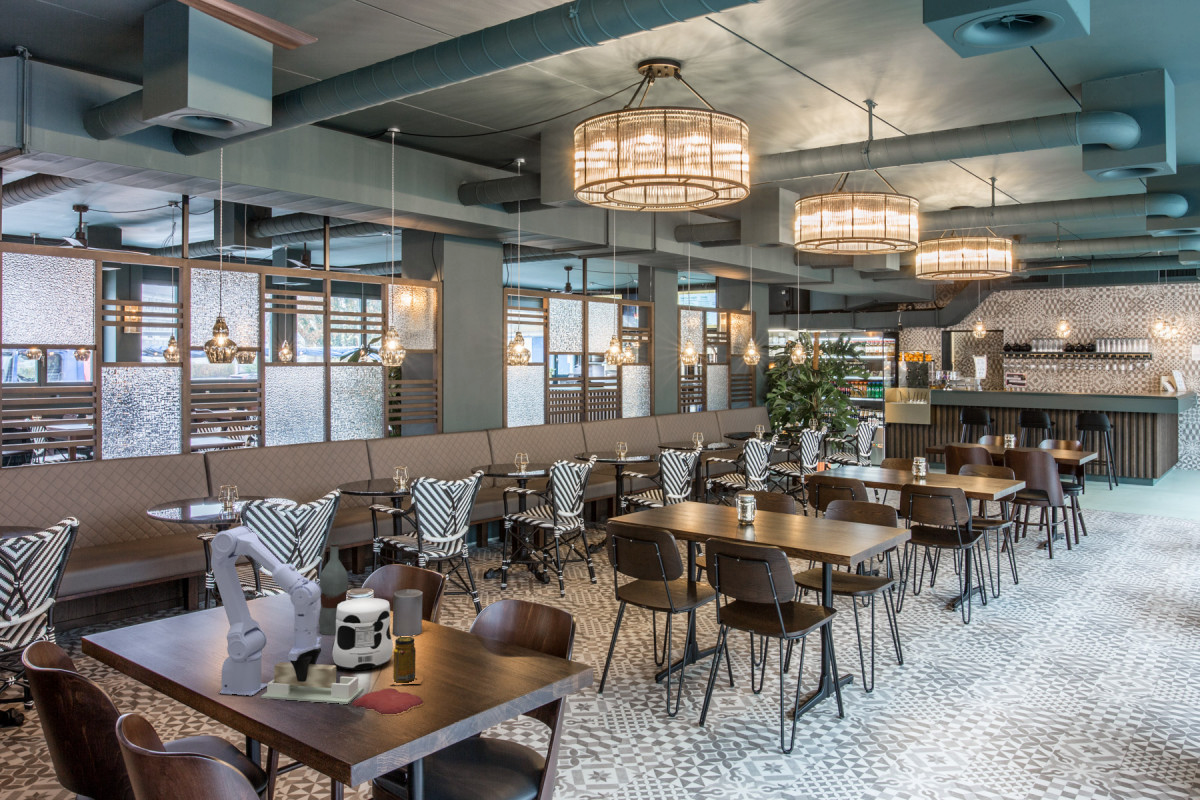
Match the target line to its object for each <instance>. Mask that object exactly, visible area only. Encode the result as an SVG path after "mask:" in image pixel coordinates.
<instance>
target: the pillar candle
mask: <svg viewBox="0 0 1200 800" xmlns="http://www.w3.org/2000/svg"><path fill="white" fill-rule="evenodd" d="M423 593H424V592H423V591H421V590H419V589H411V588H410V589H409V588H407V589H401V590H399V589H398V590H397V591H394V592H393V599H392V600H393V601H392V602H393V605H392V607H393V608H392V635H393V636H394V635H395V637H398V636H412V637H414V636H413V635H417V634H418V635H420V634H422V633H423V631H422V630H423V627H422V626H423V622H422V621H423ZM418 635H417V636H418Z"/></svg>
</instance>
